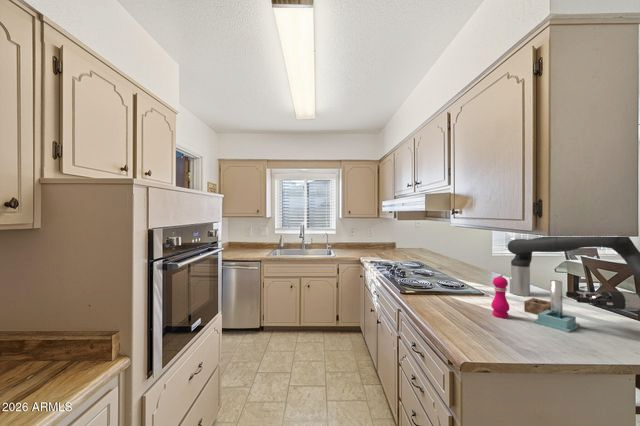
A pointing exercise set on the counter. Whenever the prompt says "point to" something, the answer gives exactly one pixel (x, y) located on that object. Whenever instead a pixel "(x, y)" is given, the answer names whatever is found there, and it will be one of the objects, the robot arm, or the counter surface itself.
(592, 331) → the counter surface
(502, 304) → the pepper mill
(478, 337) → the counter surface
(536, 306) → the bore block
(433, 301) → the counter surface
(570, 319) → the socket
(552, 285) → the axle
